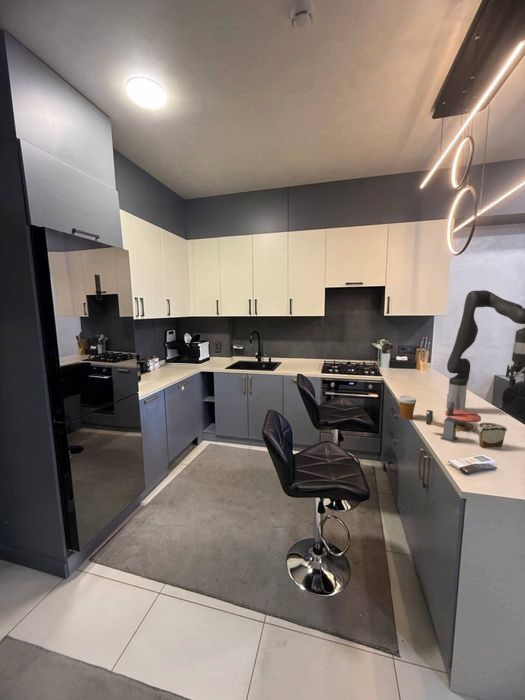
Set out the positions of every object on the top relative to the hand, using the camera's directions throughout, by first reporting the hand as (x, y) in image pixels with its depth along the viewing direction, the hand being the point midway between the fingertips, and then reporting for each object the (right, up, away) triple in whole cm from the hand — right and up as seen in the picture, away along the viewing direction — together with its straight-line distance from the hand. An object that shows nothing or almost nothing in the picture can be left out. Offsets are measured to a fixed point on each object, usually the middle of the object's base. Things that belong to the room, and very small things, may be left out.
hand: (519, 385), depth 135 cm
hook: (-30, -22, +10) cm, 39 cm away
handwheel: (-12, -23, +21) cm, 34 cm away
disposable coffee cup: (-35, -24, +37) cm, 56 cm away
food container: (-14, -28, +2) cm, 32 cm away
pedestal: (-12, -25, +22) cm, 35 cm away
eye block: (-28, -27, +8) cm, 40 cm away
